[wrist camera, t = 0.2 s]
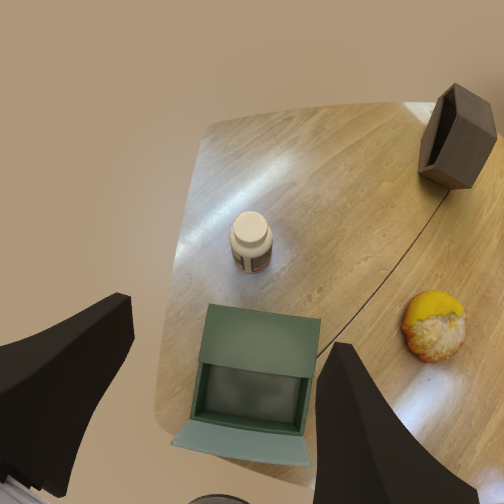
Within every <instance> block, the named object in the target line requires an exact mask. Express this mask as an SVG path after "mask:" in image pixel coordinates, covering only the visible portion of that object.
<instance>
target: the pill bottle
mask: <svg viewBox="0 0 504 504" xmlns="http://www.w3.org/2000/svg"><path fill="white" fill-rule="evenodd" d="M229 239H230V245H231V249H232V253H233V258H234V261H235V263H236V265H237V266H238V267H239V268H240V269H241V270H242V271H244V272H247V273H258V272H260V271H262V270H264V269H265V268H266V267H267V266H268V264H269V262H270V259H271V252H272V241H273V236H272V231H271V229H270V227H269V226H268V224H267V222H266V220H265V218H264V217H263V216H262V215H260V214H259V213H256V212H245V213H243V214H241V215H239V216H238V217H237V218H236V220H235V222H234V225H233V227H232V229H231V232H230V236H229Z"/></svg>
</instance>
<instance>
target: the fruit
mask: <svg viewBox="0 0 504 504" xmlns="http://www.w3.org/2000/svg"><path fill="white" fill-rule="evenodd" d="M464 314H465V311H464V308H463V306H462V304H461V303H460V302H459V301H457V300H456V299H455V298H454V297H452V296H451V295H450V294H448V293H446V292H443V291H438V290H431V291H426V292H423V293H421V294H419V295H417V296H416V297H414V298H413V299H412V300H411V301H410V303H409V305H408V307H407V309H406V310H405V313H404V316H403V319H402V329H403V330H404V333H405V335H406V337H407V343H408V346H409V349H410V350H411V352H414V353H416V354H417V355H418V356H419V358H420V360H422V361H423V362H425V363H427V362H428V363H436V362H439V361H441V360H443V359H446V358H449V357H450V356H452V355H454V354H455V353H456V352H457V351H458V349H459V347H461V346H462V345H463V343H464V340H465V338H466V335H467V330H466V328H465V326H466V318H465V316H464Z"/></svg>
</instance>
